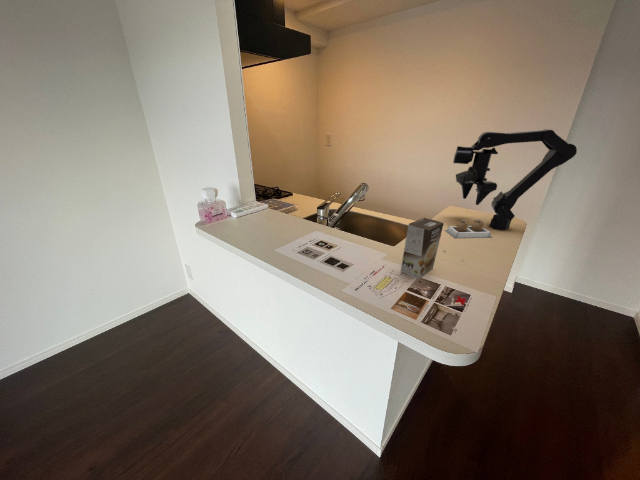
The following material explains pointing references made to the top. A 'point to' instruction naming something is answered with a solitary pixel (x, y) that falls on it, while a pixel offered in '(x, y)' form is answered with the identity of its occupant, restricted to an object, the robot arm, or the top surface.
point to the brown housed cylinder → (477, 226)
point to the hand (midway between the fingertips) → (470, 201)
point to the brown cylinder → (462, 226)
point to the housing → (467, 233)
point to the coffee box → (421, 247)
